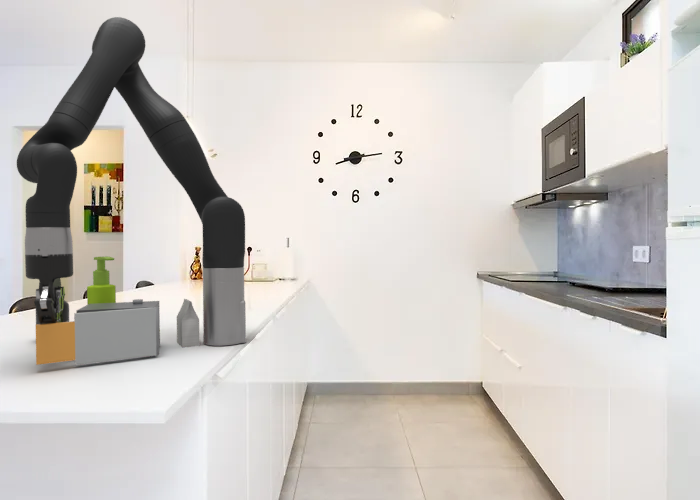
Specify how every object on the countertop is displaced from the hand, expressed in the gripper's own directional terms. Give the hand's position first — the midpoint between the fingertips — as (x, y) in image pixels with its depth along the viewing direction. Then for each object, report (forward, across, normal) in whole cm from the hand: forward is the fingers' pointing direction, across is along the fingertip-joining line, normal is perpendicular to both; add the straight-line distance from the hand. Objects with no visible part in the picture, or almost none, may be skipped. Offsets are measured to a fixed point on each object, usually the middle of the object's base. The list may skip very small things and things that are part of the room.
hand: (52, 344), depth 89 cm
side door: (+4, +2, +8) cm, 9 cm away
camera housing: (+4, -7, +11) cm, 14 cm away
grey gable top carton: (+5, -11, +24) cm, 27 cm away
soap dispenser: (+5, -21, +6) cm, 22 cm away
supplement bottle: (+5, -28, -5) cm, 29 cm away
